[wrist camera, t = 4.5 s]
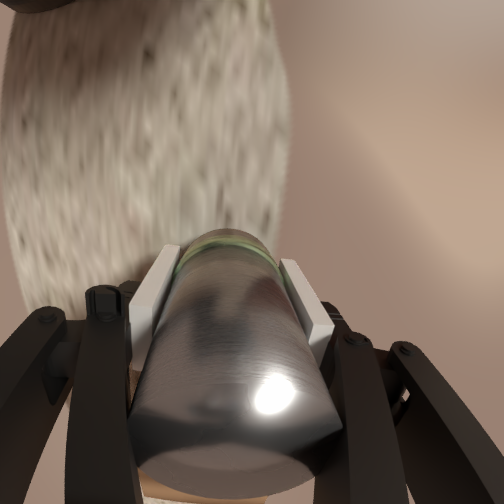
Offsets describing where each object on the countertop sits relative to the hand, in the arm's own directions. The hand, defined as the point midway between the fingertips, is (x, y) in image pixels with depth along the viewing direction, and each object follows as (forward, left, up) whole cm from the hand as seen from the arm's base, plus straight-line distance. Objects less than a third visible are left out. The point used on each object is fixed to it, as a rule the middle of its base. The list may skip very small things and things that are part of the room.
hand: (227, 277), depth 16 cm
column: (0, 0, 0) cm, 0 cm away
